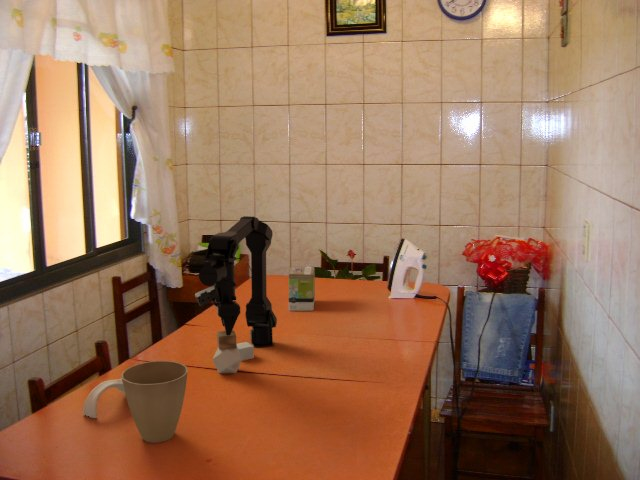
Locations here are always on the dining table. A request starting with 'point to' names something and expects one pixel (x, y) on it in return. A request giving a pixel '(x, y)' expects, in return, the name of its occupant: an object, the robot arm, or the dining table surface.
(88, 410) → the white curved arch
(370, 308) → the dining table surface
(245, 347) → the grey block
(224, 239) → the robot arm
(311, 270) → the tea box
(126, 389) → the plant pot
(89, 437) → the dining table surface
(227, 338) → the walnut block
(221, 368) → the pale faceted polyhedron
